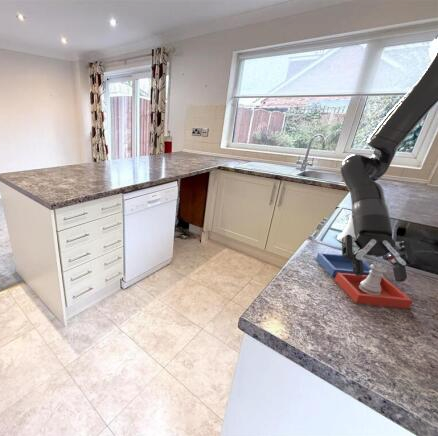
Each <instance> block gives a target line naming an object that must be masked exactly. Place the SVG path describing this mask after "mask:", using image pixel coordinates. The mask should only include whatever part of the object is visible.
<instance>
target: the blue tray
mask: <svg viewBox="0 0 438 436" xmlns="http://www.w3.org/2000/svg"><path fill="white" fill-rule="evenodd" d="M315 260H316V261H317V262H318V263H319V264H320V266H321V267H323V269H325V271H326V272H327V273H328V274H329V275H330V276H331V277H332V278H335V277H336V275H337V273H348V274H355V273H354V272H353V267H352V261H351V260H349V259H347V258H343V257H342V254H339V253H328V252H327V253H325V252H317V254H316V257H315ZM360 260H362V263H363V270H364V275H369V273H370V272H369V271H370V270H371V267H370V265H371V264H369V263H368V262H366V261H365V260H364V259H362V258H361V259H360Z"/></svg>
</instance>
